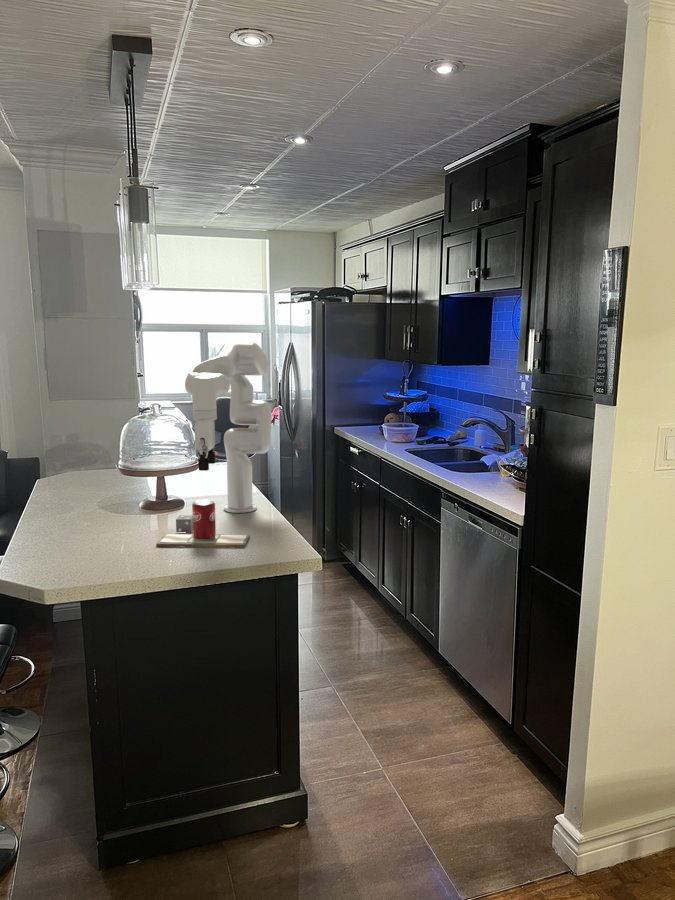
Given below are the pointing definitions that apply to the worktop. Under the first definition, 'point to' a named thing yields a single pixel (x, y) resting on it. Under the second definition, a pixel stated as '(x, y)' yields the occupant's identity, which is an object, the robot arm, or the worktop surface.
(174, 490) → the worktop surface
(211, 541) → the board
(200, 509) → the soda can
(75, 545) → the worktop surface
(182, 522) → the die
